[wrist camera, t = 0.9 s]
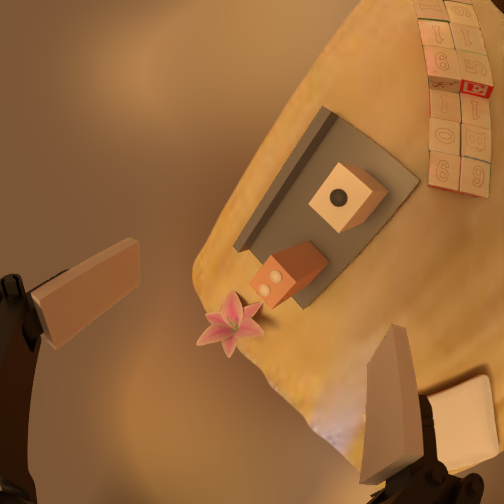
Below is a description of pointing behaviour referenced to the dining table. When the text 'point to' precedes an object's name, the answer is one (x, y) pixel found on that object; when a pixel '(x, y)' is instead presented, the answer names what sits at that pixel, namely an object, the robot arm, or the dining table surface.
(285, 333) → the dining table surface
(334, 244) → the tray
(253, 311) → the lily
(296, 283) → the key two
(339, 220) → the key one
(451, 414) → the salad plate
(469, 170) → the stack of blocks
